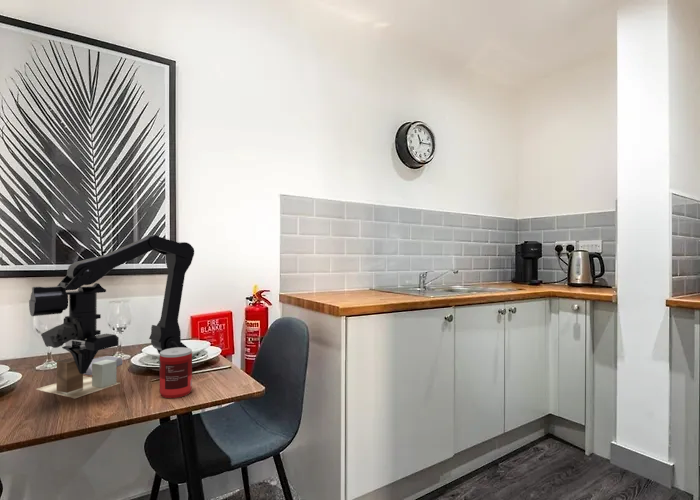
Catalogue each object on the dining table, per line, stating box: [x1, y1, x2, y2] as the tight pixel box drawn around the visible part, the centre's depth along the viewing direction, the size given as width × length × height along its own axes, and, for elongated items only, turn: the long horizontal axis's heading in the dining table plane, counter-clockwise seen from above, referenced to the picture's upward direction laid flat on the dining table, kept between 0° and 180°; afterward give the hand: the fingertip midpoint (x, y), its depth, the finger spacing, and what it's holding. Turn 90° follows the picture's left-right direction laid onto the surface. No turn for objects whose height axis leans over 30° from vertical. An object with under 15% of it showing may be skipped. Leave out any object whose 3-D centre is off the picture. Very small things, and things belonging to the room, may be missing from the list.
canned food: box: [159, 347, 193, 399], centre depth 101 cm, size 8×8×11 cm
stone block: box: [83, 355, 123, 376], centre depth 119 cm, size 12×5×10 cm
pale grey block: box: [91, 359, 117, 388], centre depth 105 cm, size 4×4×6 cm
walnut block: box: [56, 357, 84, 395], centre depth 100 cm, size 4×4×8 cm
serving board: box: [35, 375, 121, 399], centre depth 104 cm, size 16×12×1 cm
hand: (82, 373), depth 98 cm, fingers closed
